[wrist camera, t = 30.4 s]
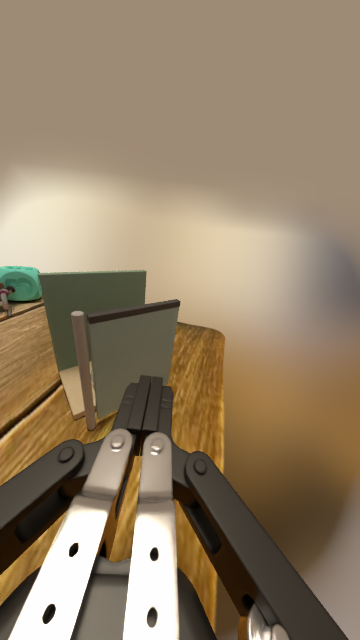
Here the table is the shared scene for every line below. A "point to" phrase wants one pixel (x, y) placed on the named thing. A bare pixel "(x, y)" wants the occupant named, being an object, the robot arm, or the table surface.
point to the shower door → (130, 349)
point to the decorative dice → (21, 282)
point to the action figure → (2, 293)
